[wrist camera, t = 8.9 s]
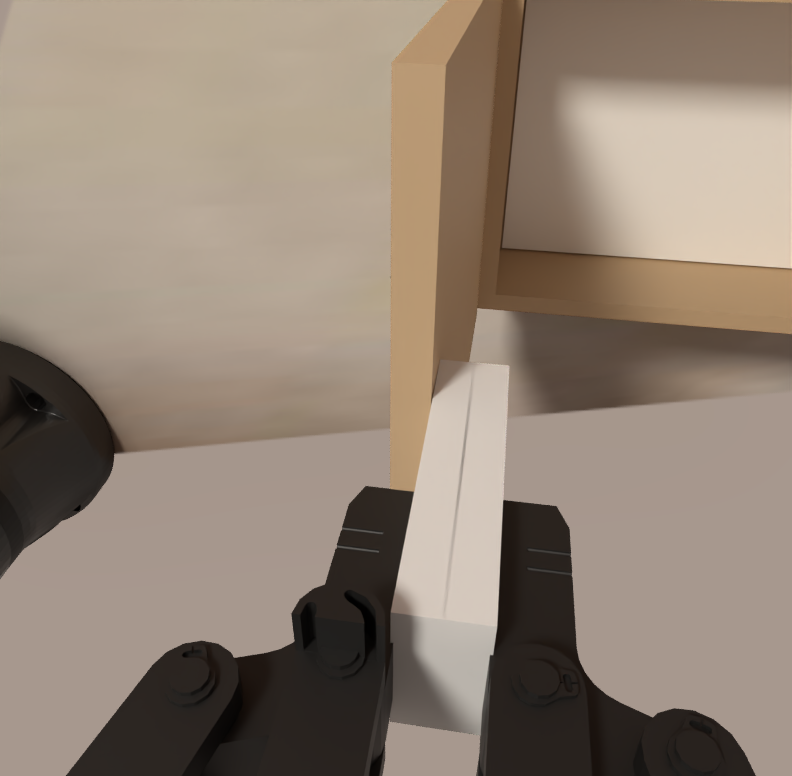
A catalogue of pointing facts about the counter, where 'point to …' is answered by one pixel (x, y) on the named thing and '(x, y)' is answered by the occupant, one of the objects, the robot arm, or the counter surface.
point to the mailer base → (642, 162)
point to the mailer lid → (437, 209)
